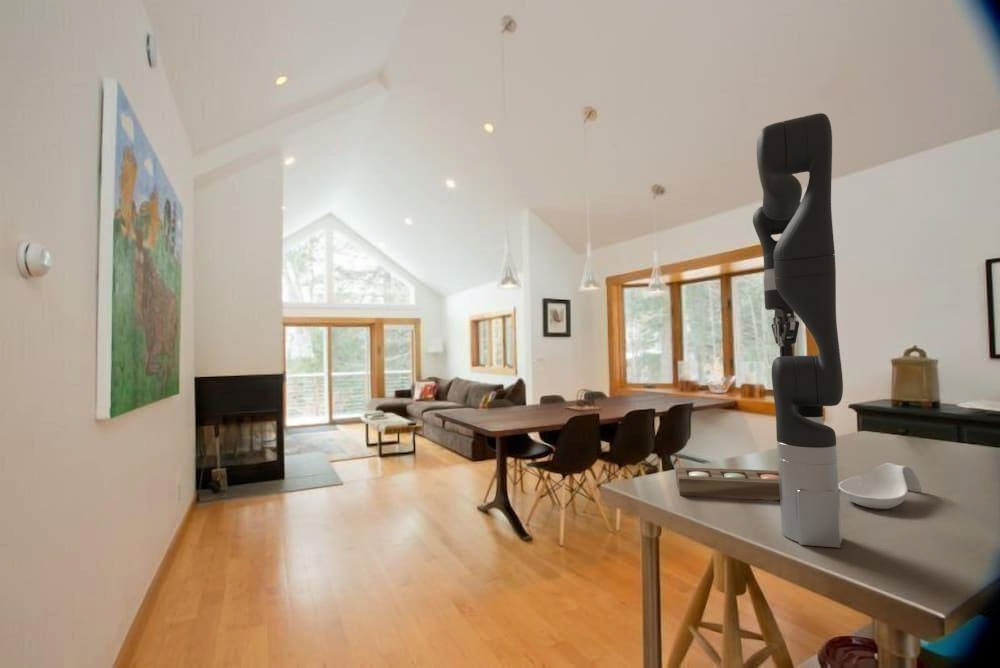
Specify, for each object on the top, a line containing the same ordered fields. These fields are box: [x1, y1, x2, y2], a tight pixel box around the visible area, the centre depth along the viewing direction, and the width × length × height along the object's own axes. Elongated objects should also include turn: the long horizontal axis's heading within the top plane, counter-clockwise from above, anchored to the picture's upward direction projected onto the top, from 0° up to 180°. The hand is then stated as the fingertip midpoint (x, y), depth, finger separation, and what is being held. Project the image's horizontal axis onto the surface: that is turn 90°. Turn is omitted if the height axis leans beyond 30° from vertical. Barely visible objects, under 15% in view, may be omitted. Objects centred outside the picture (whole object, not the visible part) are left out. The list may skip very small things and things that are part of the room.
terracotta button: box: [760, 474, 779, 480], centre depth 110 cm, size 5×5×3 cm
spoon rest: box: [838, 462, 922, 510], centre depth 104 cm, size 24×12×7 cm, turn 120°
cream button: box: [689, 472, 709, 477], centre depth 115 cm, size 5×5×3 cm
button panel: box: [675, 466, 780, 501], centre depth 113 cm, size 11×26×4 cm, turn 73°
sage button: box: [724, 473, 745, 478], centre depth 113 cm, size 5×5×3 cm
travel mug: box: [794, 405, 825, 425], centre depth 119 cm, size 6×7×20 cm
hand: (786, 362), depth 108 cm, fingers closed
